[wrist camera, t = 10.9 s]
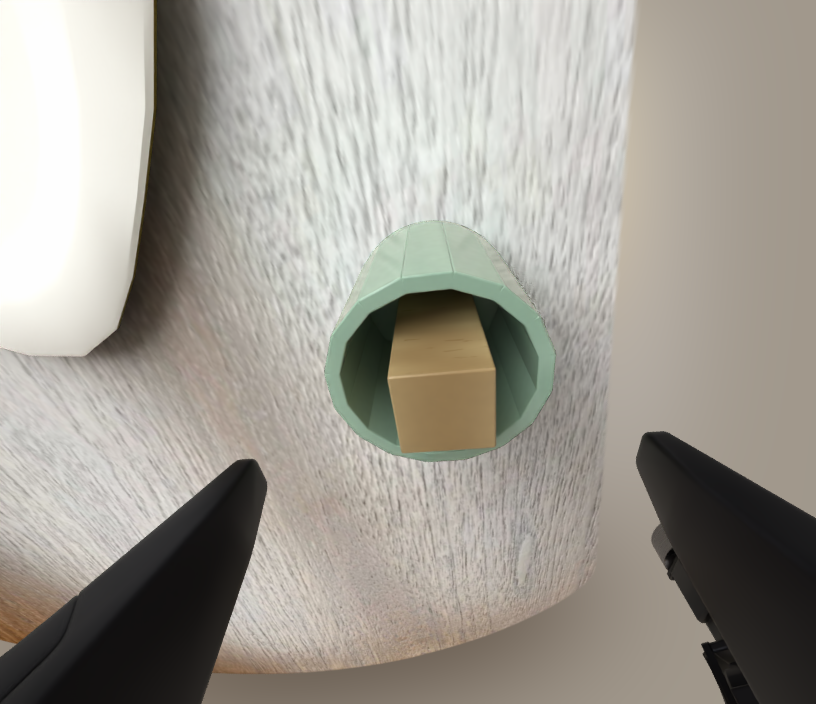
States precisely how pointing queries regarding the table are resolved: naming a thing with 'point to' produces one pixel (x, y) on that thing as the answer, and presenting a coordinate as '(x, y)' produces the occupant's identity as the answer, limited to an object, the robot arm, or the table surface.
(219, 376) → the table surface
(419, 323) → the stick
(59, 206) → the plate
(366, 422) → the cup
